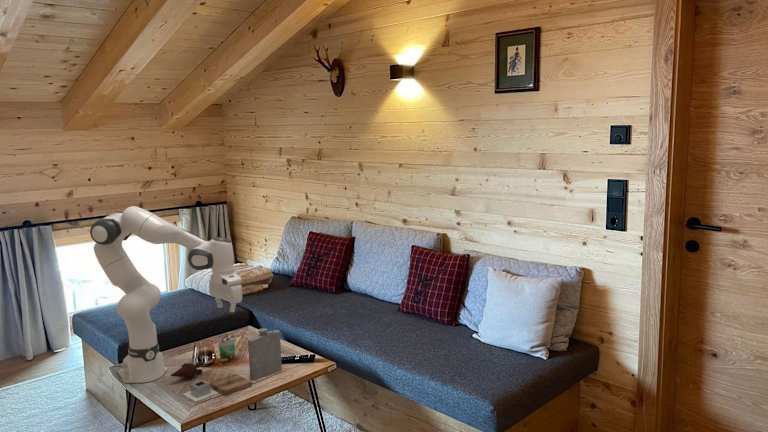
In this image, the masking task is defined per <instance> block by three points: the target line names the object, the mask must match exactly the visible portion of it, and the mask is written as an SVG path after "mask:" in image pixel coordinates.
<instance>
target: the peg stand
mask: <svg viewBox="0 0 768 432" xmlns="http://www.w3.org/2000/svg"><path fill="white" fill-rule="evenodd" d="M209 383H210V388H211V389H212V390H214V391H216V392H218V393H219V394H222V395H223V396H225V397H226V396H229V395H233V394H235V393H237V392H240V391H243V390H245V389H248V388H251V387H252V386H253V384H252V383H253V381H252V380H249V379H247V378H246V377H243V376H241V375H239V374H238V373H234V374H233V371H228V372H227V376H225V377H222V378H218V379H216V380H213V381H211V382H209Z"/></svg>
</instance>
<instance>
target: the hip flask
mask: <svg viewBox="0 0 768 432" xmlns="http://www.w3.org/2000/svg"><path fill="white" fill-rule="evenodd" d="M281 343H282V342H281V330H279V329H275V330H274V329H273V330H270V331H268V328H264V327H263V328H262V327H261V328H259V329H258V335H255V336H251V338H248V339H247V348H248V362H249V365H248V366H249V378H250V380H249V381H251V382H253V381H255V382H256V381H257V380H260V379H261V378H263V377H265V376H269V375H270V374H274V373H276V372H280V371H282V370H283V366H282V365H283V363H282V349H281V348H282V345H281Z"/></svg>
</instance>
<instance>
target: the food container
mask: <svg viewBox="0 0 768 432" xmlns="http://www.w3.org/2000/svg"><path fill="white" fill-rule="evenodd" d="M236 343H237V338H236V337H235V335H234V334H232V333H225V337H223V338H222V339H221V341H219V342H218V349H219V357H220V358H219V359H220V363H221V364H222V363H228V362H231V361H234V360H235V358H236V357H235V355H236V349H235V347H236Z"/></svg>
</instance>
